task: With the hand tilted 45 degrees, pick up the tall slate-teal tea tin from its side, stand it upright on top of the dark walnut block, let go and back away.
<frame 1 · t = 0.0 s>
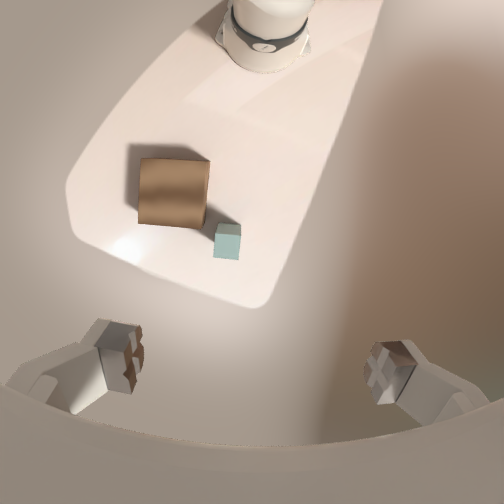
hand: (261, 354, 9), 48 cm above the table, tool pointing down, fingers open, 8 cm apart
walnut block: (177, 189, 54), on the table
tea tin: (228, 234, 57), on the table
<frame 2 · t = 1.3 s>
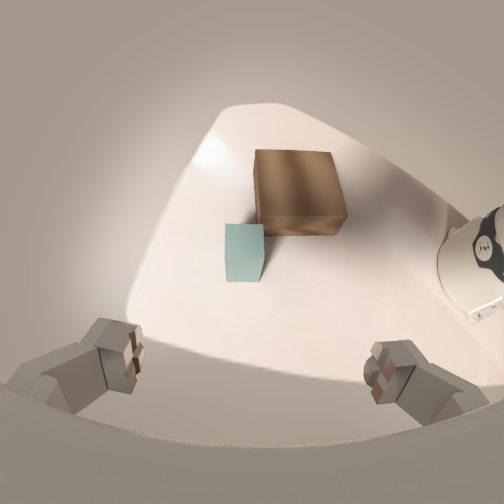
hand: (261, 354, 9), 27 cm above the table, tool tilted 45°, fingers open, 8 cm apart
walnut block: (292, 203, 45), on the table
tea tin: (242, 266, 40), on the table
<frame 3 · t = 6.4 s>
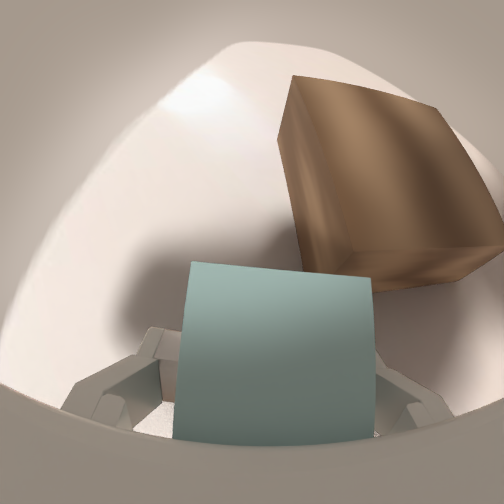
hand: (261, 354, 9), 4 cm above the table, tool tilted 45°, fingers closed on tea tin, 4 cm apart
walnut block: (371, 209, 19), on the table
tea tin: (247, 376, 13), on the table, touching gripper
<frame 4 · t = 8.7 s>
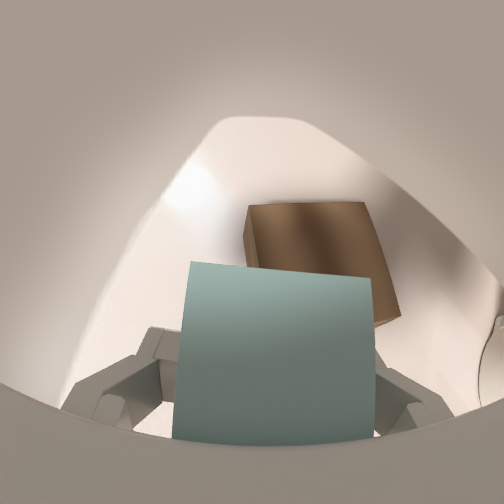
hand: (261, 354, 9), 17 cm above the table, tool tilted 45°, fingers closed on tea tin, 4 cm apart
walnut block: (307, 284, 29), on the table
tea tin: (247, 376, 13), point 13 cm above the table, touching gripper
when the fingers open (12 cm above the table, at t = 11.3 s): tea tin drops 2 cm, point 6 cm above the table.
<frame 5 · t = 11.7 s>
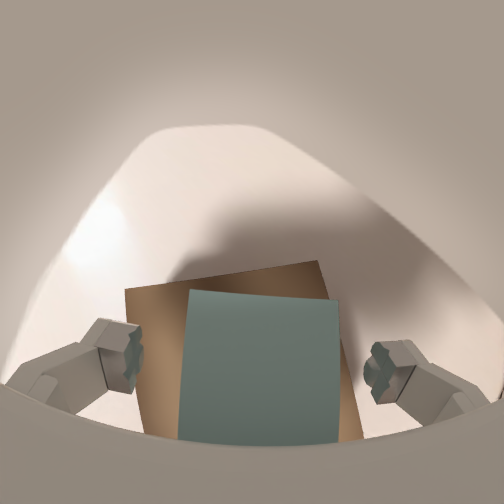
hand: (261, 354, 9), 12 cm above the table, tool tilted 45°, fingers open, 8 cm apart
walnut block: (236, 378, 20), on the table
tea tin: (239, 377, 14), point 6 cm above the table
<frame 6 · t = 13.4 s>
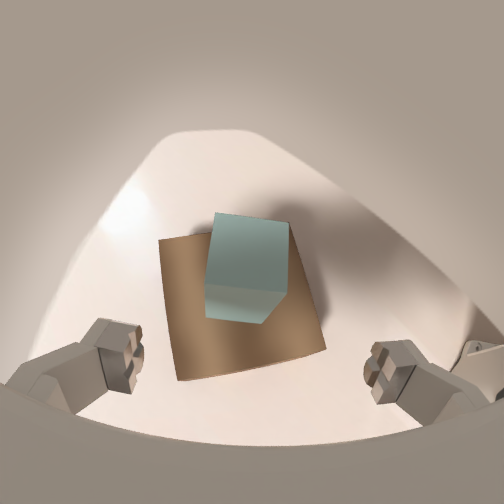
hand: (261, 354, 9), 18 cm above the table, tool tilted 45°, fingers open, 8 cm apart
walnut block: (233, 312, 28), on the table, touching tea tin
tea tin: (236, 294, 23), point 6 cm above the table, touching walnut block
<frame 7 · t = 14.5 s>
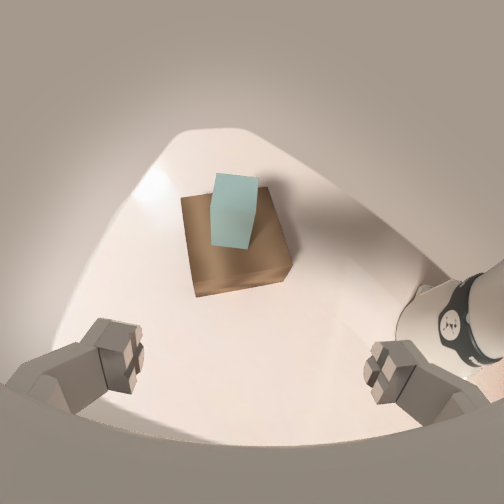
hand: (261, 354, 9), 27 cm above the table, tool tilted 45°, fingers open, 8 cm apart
walnut block: (231, 250, 41), on the table, touching tea tin
tea tin: (231, 231, 36), point 6 cm above the table, touching walnut block
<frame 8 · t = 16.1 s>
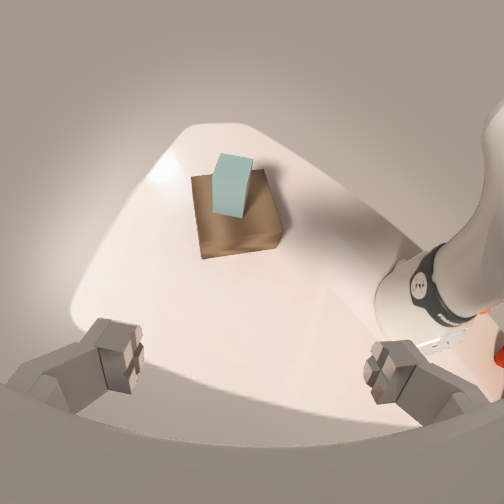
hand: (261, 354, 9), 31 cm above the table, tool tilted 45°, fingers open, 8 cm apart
walnut block: (232, 222, 48), on the table, touching tea tin
fruit: (495, 360, 41), on the table
tea tin: (230, 203, 43), point 6 cm above the table, touching walnut block
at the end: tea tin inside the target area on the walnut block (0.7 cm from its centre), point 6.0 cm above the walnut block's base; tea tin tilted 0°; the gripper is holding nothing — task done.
